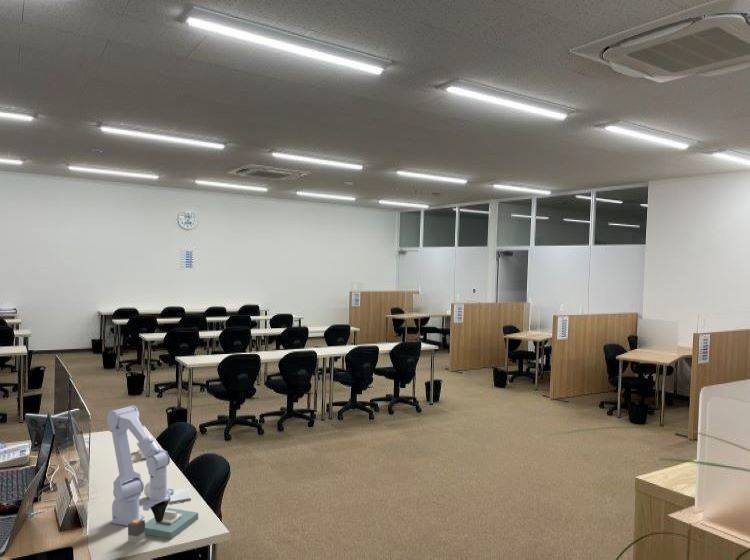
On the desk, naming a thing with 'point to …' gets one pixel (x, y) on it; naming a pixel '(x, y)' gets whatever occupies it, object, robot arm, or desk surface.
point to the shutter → (171, 516)
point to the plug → (136, 531)
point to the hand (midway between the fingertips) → (159, 521)
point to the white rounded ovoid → (147, 489)
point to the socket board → (170, 525)
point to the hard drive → (180, 495)
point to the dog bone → (140, 451)
